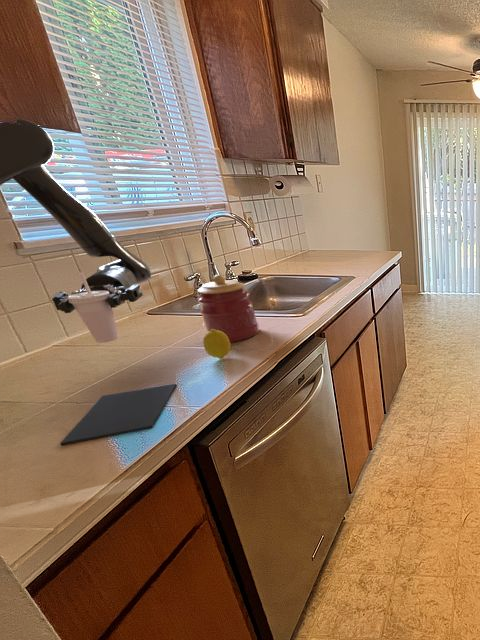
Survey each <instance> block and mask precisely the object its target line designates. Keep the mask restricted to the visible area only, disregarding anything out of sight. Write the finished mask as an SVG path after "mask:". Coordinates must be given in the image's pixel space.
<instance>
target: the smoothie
mask: <svg viewBox="0 0 480 640" xmlns="http://www.w3.org/2000/svg"><path fill="white" fill-rule="evenodd" d="M78 274H79V276H80V279H81V281H82V284H84V286H85V288H86V291H87V292H83V293H78V294H74V295H71V294H70V295H71V296H69V297H68V301H69V303H71V304H73V306H74V308H75V311H76V312H77V314H78V315H79V318H80V319H81V320H82V322H83V324H84V325H85V326H86V328H87V330H88V331H89V333H90V334H91V336H92V337H93V339H94V341H95V342H96V343H97V344H103V343H109V342H113V341H117V340H118V339H119V338H120V335H119V331H118V328H117V323H116V319H115V314H114V310H113V308H111V306H110V304H109V301H108V296H110V293H109V291H90V288H89V286H88V284H87V281H86V279H87V278H86V277H85V275H84V272H83V271H79V272H78Z"/></svg>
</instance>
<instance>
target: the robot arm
mask: <svg viewBox="0 0 480 640" xmlns="http://www.w3.org/2000/svg"><path fill="white" fill-rule="evenodd" d="M24 119H25V118H22V119H19V120H17V123H20V124H24V125H19V124H10V123H0V187H1V186H2V185H4V184H5V183H7V182H9V181H11V180H13V181H14V182H15V183H16V184H18V185H19V186H20V187H21V188H22V189H24V190H25V192H27V193H28V194H29V195H30V196H31V197H32V198H33V199H34V200H36V202H37V203H39V205H41V206H42V207H43V209H45V210H46V212H48V213H49V214H50V215H51V217H52V218H54V219H55V221H56V222H57V223H58V224H59V225H60V226H61V227H62V228H63V229H64V230H65V231H66V233H67V234H68V235H69V236H70V237H71V238H72V239H73V241H74V242H76V244H77V245H78V246H79V247H80V248H81V250H83V252H84V253H85V254H86V255H87V256H89V257H91V258H104V257H111V258H112V257H113V258H116V259H117V260H115V261H112V262H109V263H106V264H104V265H101V266H99V267H98V268H97V269H96V272H94V273H93V274H91V275H90V276H89V277H87V278H85V279H86V281H87V284H88V286H89V288H90V291H109V293H110V296H108V301H109V304H110V306H111V308H112V309H113V308H114V309H115V308H117V307H118V306H121V305H124V304H125V303H126V301H128V302H130V303H135V302H137V301H138V300H139V299H140V298H142V297H143V296H144V294H143V292H142V288H141V286H140V285H141V284H144V283H146V282H149V281H150V280H151V278H152V271H151V269H150V267H149V265H147V263H146V262H144V261H143V260H142V259H141V258H139V257H138V256H137V255H136V254H134V253H133V252H131V251H130V250H128V249H127V247H126V246H124V245H123V244H122V243H121V242H119V240H118V239H116V237H115V236H114V235H113V234H112V232H111V231H110V230H109V229H108V227H107V226H106V225H105V224H104V223H103V221H101V219H100V218H99V217H98V216H97V215H96V214H95V213H94V212H93V211H92V210H91V209H90V208H88V207H87V206H86V205H85V204H84V203H82V202H81V201H80V200H78V199H77V198H76V197H74V196H73V195H72V194H71V193H70V192H69V191H67V190H66V189H65V188H64V187H63V186H62V185H61V184H60V183H59V182H58V181H57V180H56V179H55V178H54V177H53V176H52V175H51V174H50V172H49V170H47V168H46V167H45V165H46V164H48V163H49V162H50V161H51V159H52V158H53V156H54V152H55V145H54V142H53V139H52V138H51V136H50V134H49V133H48V132H47V131H46V130H45V129H44V128H43V127H42V126H40V127H38V126H39V124H37V123H35V122H34V121H31V120H29V119H26V120H24ZM26 124H28V125H26ZM29 125H34V126H29ZM83 292H87V291H86V288H85V286H84V284H83V283H82V284H81V288H80V289H78V290H74V291H72V292H71V294H68V293H67V292H65V291H59V292H56V293H55V294H54V295H53V296H52V297H51V300H52V302H53V304H54V306H55V309H56V310H57V311H61V312H63V313H64V314H70V313H72V312H74V311H76V309H75V308H74V306H73V304H71V303H69V301H68V297H69V296H71V295H74V294H78V293H83Z"/></svg>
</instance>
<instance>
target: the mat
mask: <svg viewBox="0 0 480 640" xmlns="http://www.w3.org/2000/svg"><path fill="white" fill-rule="evenodd" d="M176 387H177V383H172V384H165V385H159V386H154V387H147V388H141V389H136V390H129V391H123V392H117V393H111V394H106V395H105V394H104V395H102V396H101V397H100V398H99V399H98V400H97V401H96V402H95V404H94V405H93V406H91V408H90V409H89V410H88V411H87V413H86V414H85V415H84V416H83V417H82V418H81V420H80V421H78V422H77V424H76V425H75V426H74V427H73V428H72V429H71V430H70V431H69V433H68V434H67V435H66V436H65V437H64V438H63V439H62V441H60V443H59V444H60V446H65V445H66V446H67V445H70V444H77V443H82V442H87V441H92V440H97V439H102V438H107V437H112V436H113V437H114V436H118V435H123V434H127V433H132V432H138V431H143V430H149V429H153V427H154V426H155V424H156V422H157V421H158V419H159V417H160V416H161V414H162V412H163V410H164V409H165V407H166V405H167V403H168V402H169V400H170V399H171V396H172V395H173V393H174V392H175V390H176Z"/></svg>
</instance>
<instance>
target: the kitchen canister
mask: <svg viewBox="0 0 480 640" xmlns="http://www.w3.org/2000/svg"><path fill="white" fill-rule="evenodd" d="M197 293H199V295H198V297H197V298H196V302H197V303H199V305H200V311H199V312H200V314H201V316H202V320H203V322H204V325H205V328H206V333H208V332H209V331H211V329H215V330H219V331H222V332H224V333H225V334H226V335H227V337H228V338H229V340H230V343H232V342H233V343H234V342H238V341H243V340H246V339H250V338H251V337H254V336H255V335H257V334H258V333H259V326H260V325H259V322H258V321H257V317H256V314H255V310H254V304H253V302H252V301H251V299H250V295H251V292H250V291H249V290H247V289H245V284H244V283H242V282H240V281H238V280H236V279H225V277H224V276H223V275H221V274H215V275H214V276H213V281H210V282H206V283H203V284H202V285H201V287H199V288H198V289H197Z"/></svg>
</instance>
